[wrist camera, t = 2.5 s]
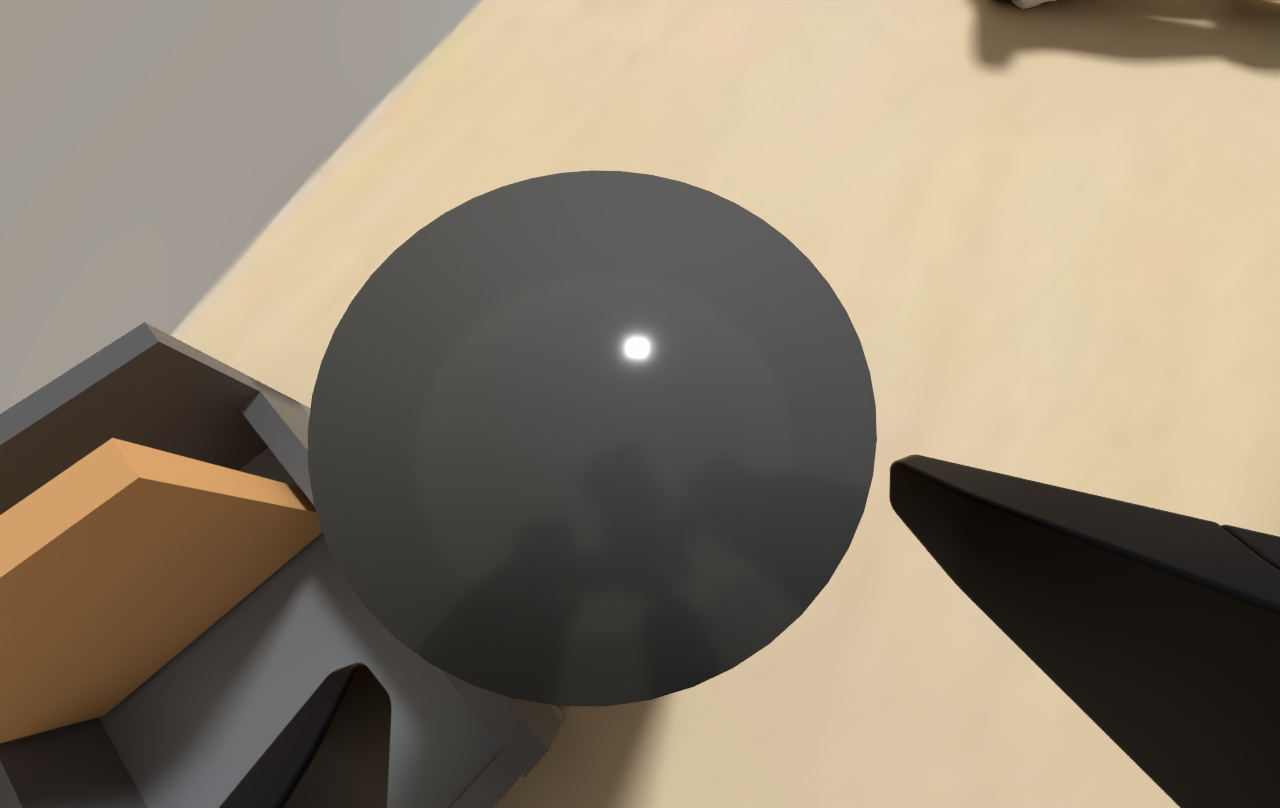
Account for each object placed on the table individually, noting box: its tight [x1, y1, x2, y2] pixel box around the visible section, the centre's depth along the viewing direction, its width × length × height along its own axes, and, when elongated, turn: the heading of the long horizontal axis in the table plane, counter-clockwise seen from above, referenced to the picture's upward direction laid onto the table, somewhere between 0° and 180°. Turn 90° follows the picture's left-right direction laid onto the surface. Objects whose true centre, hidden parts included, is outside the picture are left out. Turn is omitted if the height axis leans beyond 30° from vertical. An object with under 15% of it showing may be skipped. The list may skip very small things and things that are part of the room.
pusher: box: [0, 438, 323, 743], centre depth 12 cm, size 1×8×7 cm, turn 136°
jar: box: [308, 171, 877, 706], centre depth 12 cm, size 7×7×12 cm
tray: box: [0, 322, 565, 808], centre depth 12 cm, size 15×11×7 cm
